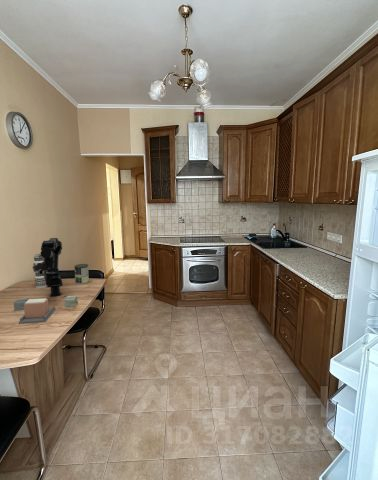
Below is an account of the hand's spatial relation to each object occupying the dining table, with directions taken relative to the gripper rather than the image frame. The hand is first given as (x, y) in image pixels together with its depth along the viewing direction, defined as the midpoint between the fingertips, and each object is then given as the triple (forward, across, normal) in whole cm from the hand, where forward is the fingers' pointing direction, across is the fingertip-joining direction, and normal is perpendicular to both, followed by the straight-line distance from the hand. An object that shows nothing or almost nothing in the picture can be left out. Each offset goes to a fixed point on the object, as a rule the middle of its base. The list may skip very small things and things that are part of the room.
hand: (47, 284), depth 155 cm
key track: (+18, +9, -6) cm, 21 cm away
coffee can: (-2, -30, +35) cm, 47 cm away
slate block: (+14, -9, -10) cm, 19 cm away
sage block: (+13, +7, +12) cm, 20 cm away
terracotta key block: (+17, +10, -7) cm, 21 cm away
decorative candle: (0, -43, +10) cm, 44 cm away
